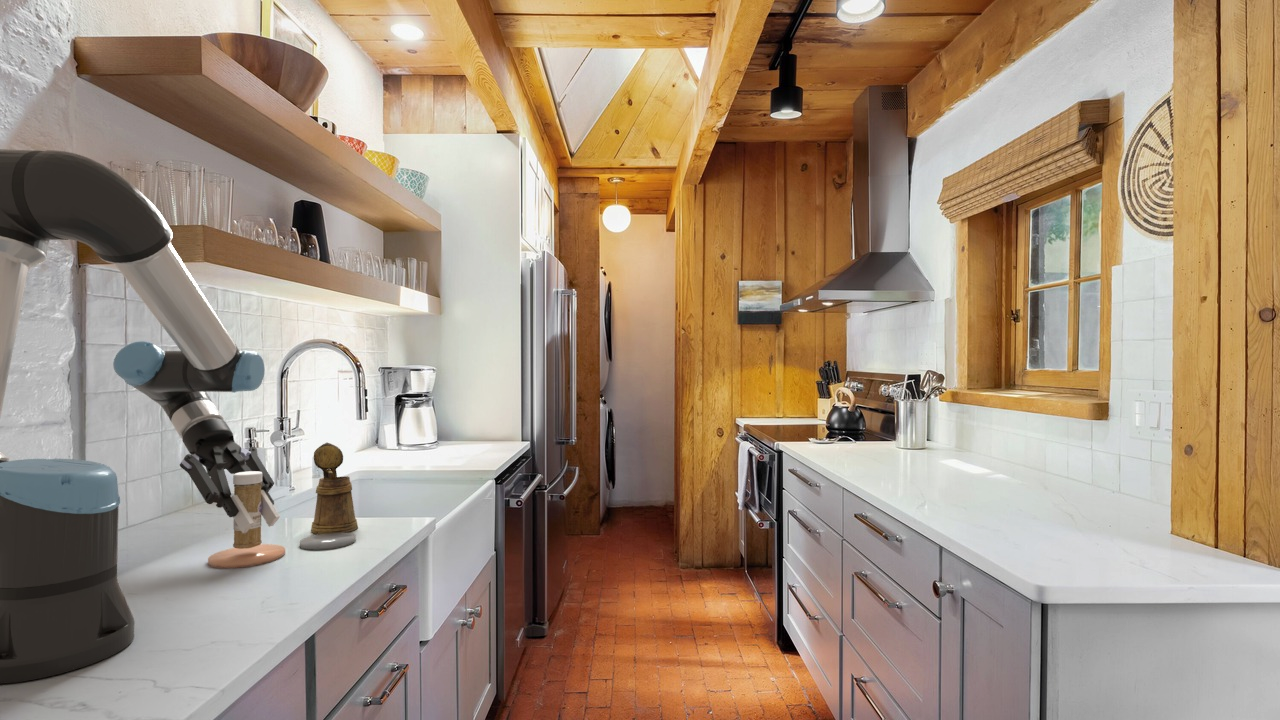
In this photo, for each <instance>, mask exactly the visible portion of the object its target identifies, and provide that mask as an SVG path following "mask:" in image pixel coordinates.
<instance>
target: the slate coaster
mask: <svg viewBox="0 0 1280 720" xmlns="http://www.w3.org/2000/svg"><path fill="white" fill-rule="evenodd" d="M356 538H357V536H356V534H355V533H351V532H334V533H324V534H313V535H309V536H307V537H305V538H302V539H301V540H300V541H299V548H300V549H303V550H307V551H326V550H327V551H328V550H334V549H339V548H340V549H341V548H344V547H347V546H350V545H352V544H354V543H355V542H356V540H357V539H356Z"/></svg>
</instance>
